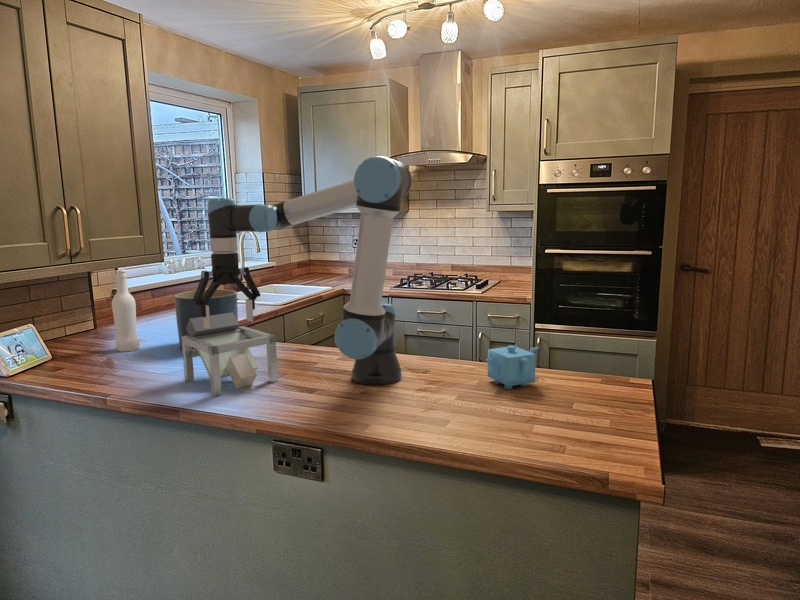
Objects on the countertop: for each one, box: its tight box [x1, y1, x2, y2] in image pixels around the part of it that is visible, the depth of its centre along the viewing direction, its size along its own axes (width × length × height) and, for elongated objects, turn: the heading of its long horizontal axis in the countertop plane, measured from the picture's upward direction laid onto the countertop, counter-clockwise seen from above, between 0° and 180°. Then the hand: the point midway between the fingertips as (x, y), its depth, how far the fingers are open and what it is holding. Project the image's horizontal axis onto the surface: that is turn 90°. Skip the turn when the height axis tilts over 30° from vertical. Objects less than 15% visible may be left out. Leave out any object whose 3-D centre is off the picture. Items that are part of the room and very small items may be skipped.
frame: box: [181, 325, 279, 398], centre depth 166 cm, size 20×20×14 cm
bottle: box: [111, 268, 141, 353], centre depth 205 cm, size 8×8×30 cm
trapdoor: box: [186, 312, 259, 379], centre depth 169 cm, size 20×15×5 cm
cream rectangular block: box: [226, 354, 258, 390], centre depth 163 cm, size 5×5×8 cm
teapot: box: [485, 345, 540, 390], centre depth 161 cm, size 16×18×11 cm
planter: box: [173, 288, 239, 352], centre depth 210 cm, size 22×22×20 cm
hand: (229, 324), depth 164 cm, fingers open, 13 cm apart
